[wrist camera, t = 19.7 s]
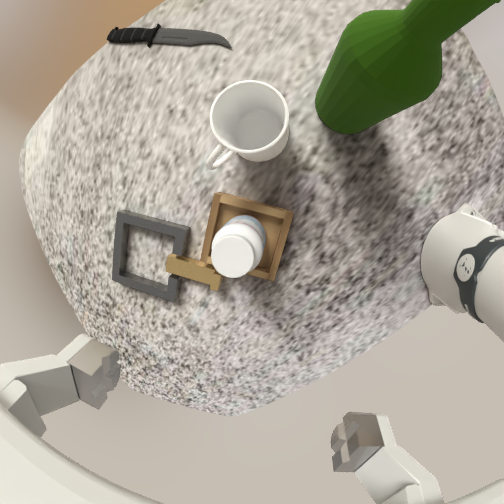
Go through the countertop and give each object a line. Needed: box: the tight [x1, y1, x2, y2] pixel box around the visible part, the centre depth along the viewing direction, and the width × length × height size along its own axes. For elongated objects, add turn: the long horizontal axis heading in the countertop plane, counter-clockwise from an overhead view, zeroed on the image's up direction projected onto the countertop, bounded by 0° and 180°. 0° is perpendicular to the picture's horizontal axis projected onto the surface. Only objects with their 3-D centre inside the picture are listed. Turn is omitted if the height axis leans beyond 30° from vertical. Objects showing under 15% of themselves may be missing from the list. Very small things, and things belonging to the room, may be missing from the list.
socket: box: [112, 210, 190, 302], centre depth 42 cm, size 12×12×2 cm
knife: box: [107, 24, 232, 48], centre depth 32 cm, size 25×2×5 cm
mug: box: [207, 80, 289, 170], centre depth 31 cm, size 12×8×12 cm
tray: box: [200, 192, 293, 281], centre depth 39 cm, size 11×10×3 cm
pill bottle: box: [211, 215, 266, 278], centre depth 34 cm, size 6×6×11 cm
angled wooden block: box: [166, 253, 223, 291], centre depth 41 cm, size 9×3×3 cm, turn 76°
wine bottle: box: [315, 0, 501, 134], centre depth 18 cm, size 9×9×32 cm
